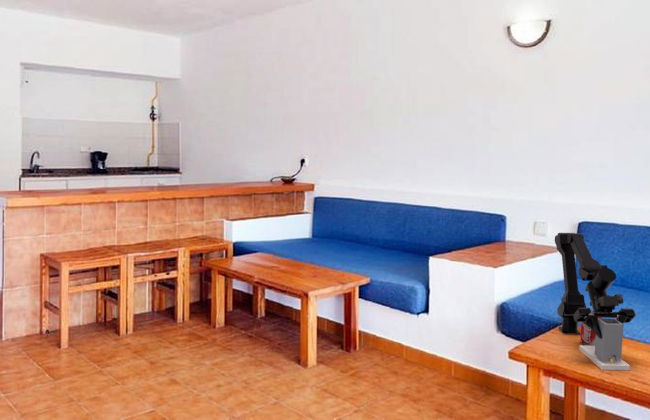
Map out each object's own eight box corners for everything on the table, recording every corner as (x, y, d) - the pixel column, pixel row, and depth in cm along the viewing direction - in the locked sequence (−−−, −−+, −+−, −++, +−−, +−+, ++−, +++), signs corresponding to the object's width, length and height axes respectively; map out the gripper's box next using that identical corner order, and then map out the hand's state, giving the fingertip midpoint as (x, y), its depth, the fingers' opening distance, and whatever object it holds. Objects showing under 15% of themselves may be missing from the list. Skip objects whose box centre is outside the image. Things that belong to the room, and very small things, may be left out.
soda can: (603, 348, 207) (605, 315, 205) (582, 346, 208) (584, 314, 207) (597, 341, 214) (600, 310, 212) (577, 339, 215) (579, 308, 213)
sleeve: (594, 353, 195) (597, 318, 194) (612, 354, 195) (615, 318, 193) (602, 360, 189) (605, 324, 188) (620, 361, 189) (623, 324, 187)
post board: (579, 349, 205) (580, 335, 205) (604, 349, 205) (605, 335, 204) (601, 369, 187) (602, 354, 187) (629, 370, 187) (630, 355, 187)
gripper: (579, 284, 193) (590, 327, 184) (635, 285, 193) (650, 328, 183) (568, 300, 202) (579, 341, 193) (622, 301, 201) (635, 342, 192)
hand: (610, 338), depth 190 cm, fingers closed on sleeve, 6 cm apart
